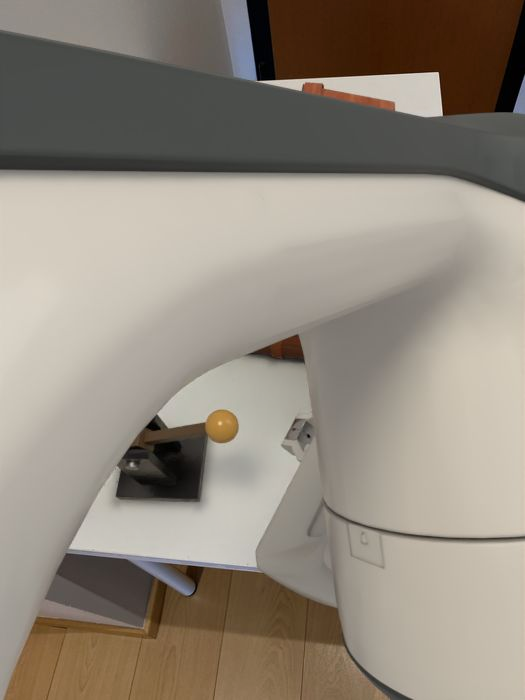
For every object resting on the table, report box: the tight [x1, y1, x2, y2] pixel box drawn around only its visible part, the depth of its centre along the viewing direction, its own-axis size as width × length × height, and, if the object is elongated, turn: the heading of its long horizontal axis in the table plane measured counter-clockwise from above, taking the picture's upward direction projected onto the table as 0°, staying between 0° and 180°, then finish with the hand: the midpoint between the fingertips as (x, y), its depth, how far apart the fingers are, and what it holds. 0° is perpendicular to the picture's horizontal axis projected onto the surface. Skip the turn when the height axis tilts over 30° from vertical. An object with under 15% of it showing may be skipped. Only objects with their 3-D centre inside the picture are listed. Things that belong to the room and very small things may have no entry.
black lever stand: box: [115, 413, 208, 503], centre depth 57 cm, size 10×8×12 cm
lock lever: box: [128, 409, 240, 452], centre depth 51 cm, size 14×3×3 cm, turn 87°
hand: (294, 434), depth 40 cm, fingers closed
